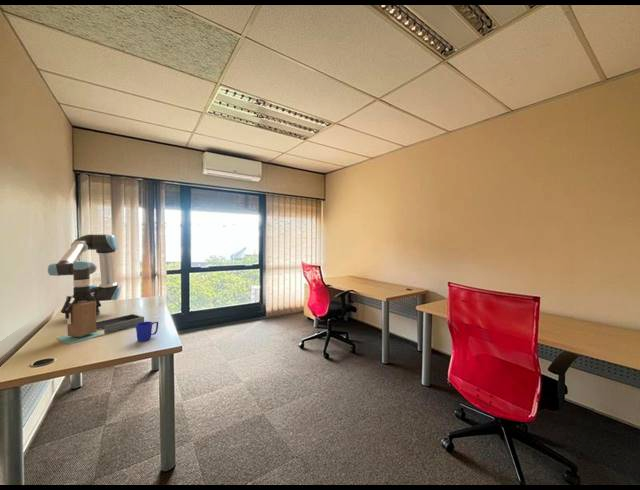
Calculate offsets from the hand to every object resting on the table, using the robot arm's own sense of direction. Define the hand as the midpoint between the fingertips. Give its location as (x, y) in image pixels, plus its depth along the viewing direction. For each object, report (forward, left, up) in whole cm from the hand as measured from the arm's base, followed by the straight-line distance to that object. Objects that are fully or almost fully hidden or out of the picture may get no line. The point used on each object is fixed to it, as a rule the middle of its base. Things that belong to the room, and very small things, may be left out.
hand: (82, 321), depth 162 cm
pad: (0, -1, -10) cm, 10 cm away
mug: (+39, +18, -10) cm, 44 cm away
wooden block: (0, 0, -8) cm, 8 cm away
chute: (0, +20, -10) cm, 22 cm away
